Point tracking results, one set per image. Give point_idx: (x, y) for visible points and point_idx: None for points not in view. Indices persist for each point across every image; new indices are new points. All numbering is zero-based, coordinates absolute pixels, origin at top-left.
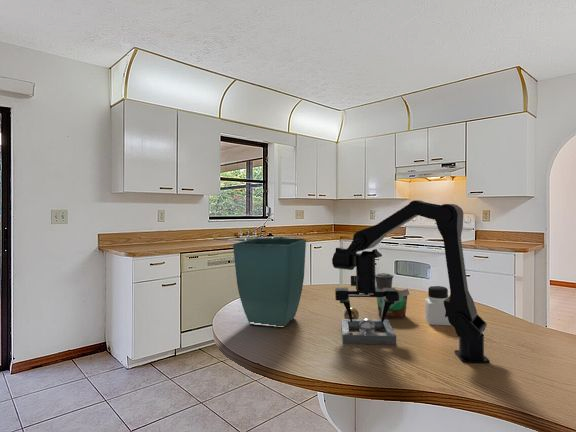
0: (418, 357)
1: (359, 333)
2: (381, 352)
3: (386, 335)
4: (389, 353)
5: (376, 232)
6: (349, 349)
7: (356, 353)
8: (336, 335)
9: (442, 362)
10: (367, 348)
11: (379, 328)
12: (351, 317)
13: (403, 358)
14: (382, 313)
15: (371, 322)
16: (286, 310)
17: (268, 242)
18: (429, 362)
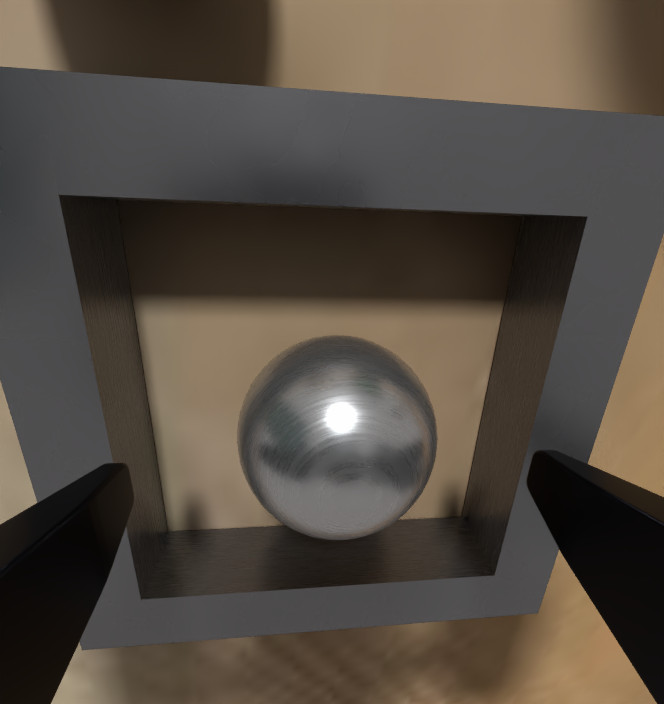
0: (546, 668)
1: (242, 604)
2: (375, 650)
3: (468, 613)
4: (416, 654)
5: None
6: (178, 644)
7: (225, 680)
8: None
9: (624, 691)
10: None
11: (494, 214)
12: (90, 596)
13: (469, 687)
14: (632, 644)
15: (398, 518)
16: None
17: None
18: (568, 699)
